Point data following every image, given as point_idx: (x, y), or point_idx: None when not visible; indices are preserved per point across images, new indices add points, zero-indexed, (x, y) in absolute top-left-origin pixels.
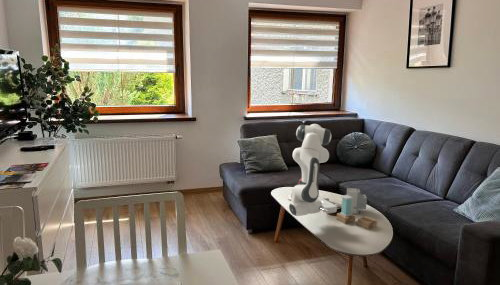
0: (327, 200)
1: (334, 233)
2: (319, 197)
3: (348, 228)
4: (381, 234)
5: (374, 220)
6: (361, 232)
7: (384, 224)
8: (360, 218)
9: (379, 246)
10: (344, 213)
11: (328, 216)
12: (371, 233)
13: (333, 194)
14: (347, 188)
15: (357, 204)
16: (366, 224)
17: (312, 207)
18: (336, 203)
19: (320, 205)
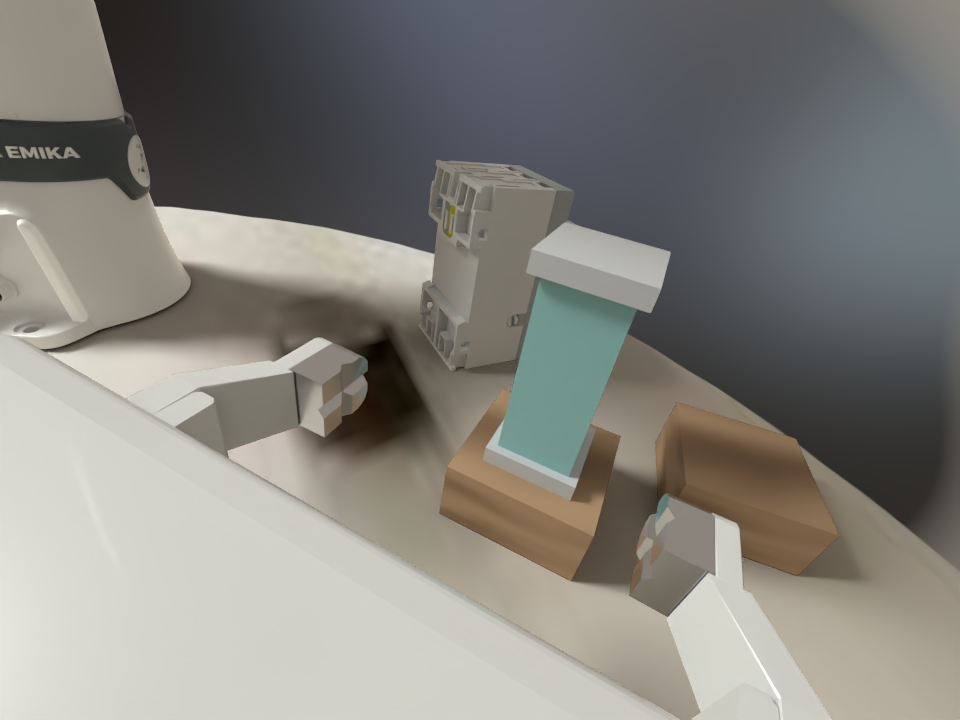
0: (336, 408)
1: None
2: (23, 433)
3: (683, 686)
4: (941, 602)
5: (785, 444)
6: (849, 699)
7: (749, 418)
8: (693, 463)
9: None
10: (550, 462)
11: (336, 492)
12: (901, 645)
13: (288, 226)
14: (443, 163)
15: (535, 294)
16: (807, 540)
17: None
18: (682, 527)
19: None
